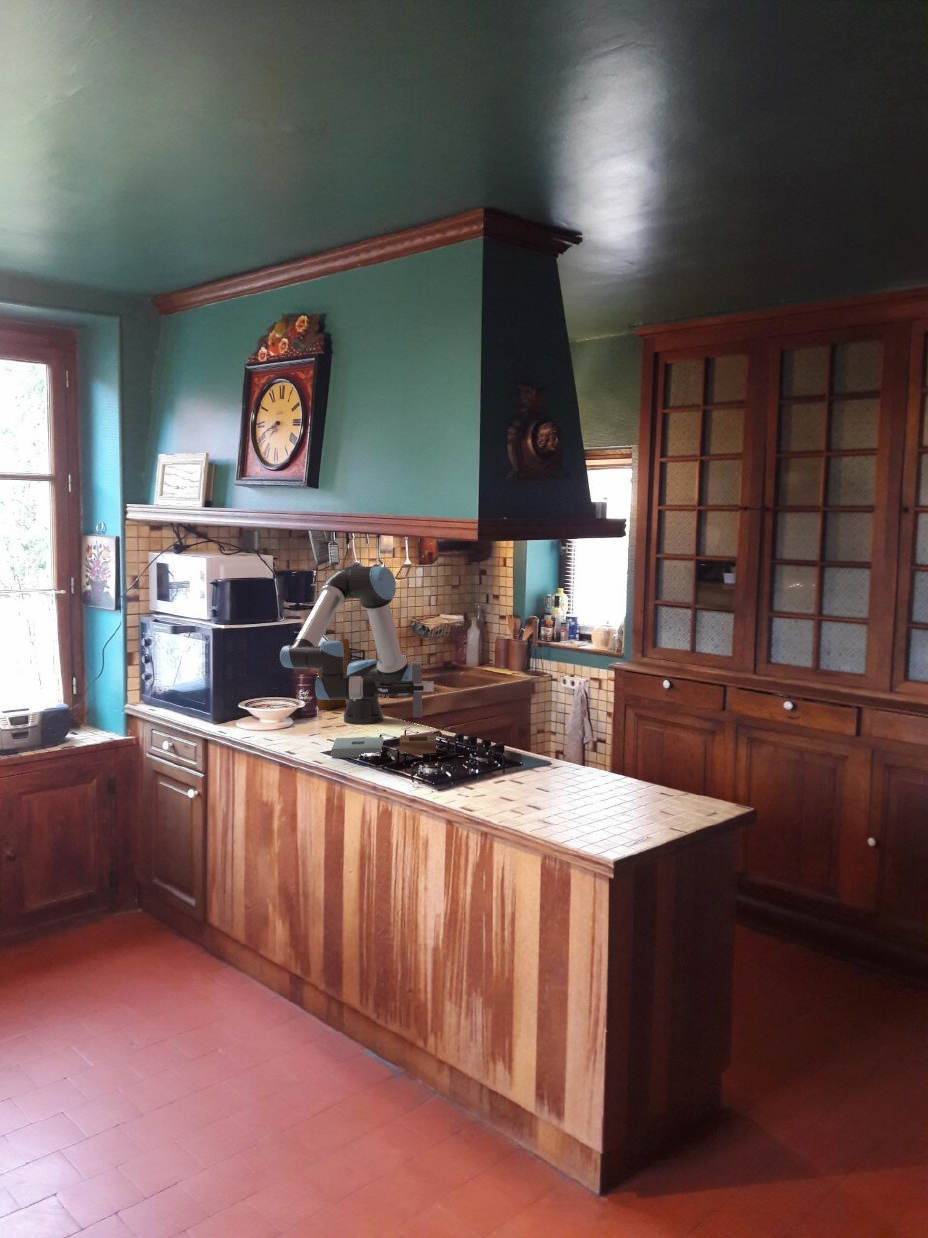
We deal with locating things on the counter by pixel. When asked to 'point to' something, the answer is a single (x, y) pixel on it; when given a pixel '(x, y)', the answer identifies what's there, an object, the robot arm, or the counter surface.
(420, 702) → the t key
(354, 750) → the cover plate
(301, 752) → the counter surface
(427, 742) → the block
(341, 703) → the pancake mix bag
